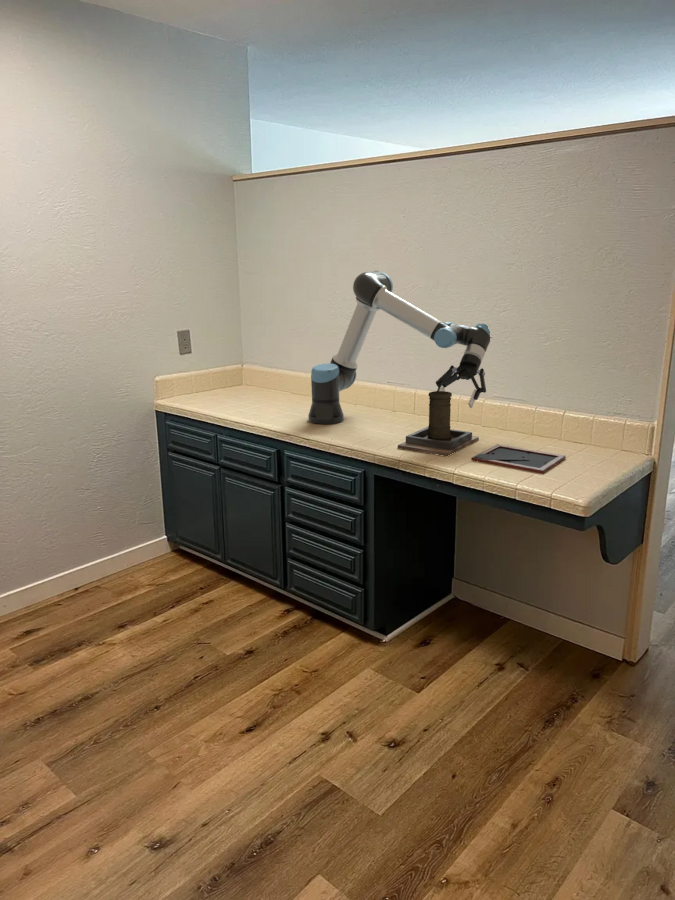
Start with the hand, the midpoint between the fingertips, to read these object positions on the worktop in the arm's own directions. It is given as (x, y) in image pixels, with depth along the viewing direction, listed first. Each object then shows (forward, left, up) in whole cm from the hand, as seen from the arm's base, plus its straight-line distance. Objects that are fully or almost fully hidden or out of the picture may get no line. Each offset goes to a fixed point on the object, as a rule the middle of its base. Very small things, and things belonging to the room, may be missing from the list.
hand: (453, 403), depth 254 cm
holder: (+9, -6, -13) cm, 17 cm away
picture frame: (+28, +20, -14) cm, 37 cm away
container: (+9, -5, -12) cm, 16 cm away
